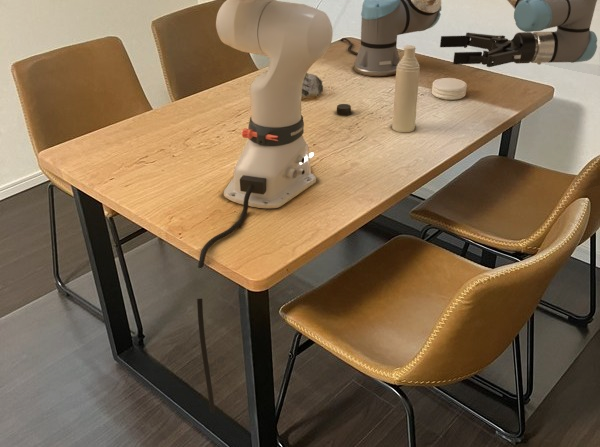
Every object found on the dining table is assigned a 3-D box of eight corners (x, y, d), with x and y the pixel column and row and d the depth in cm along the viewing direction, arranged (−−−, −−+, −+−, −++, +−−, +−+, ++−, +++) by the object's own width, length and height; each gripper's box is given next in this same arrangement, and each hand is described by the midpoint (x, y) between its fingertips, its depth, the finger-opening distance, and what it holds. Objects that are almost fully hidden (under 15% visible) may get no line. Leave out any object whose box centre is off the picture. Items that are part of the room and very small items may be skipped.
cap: (334, 114, 174) (334, 107, 173) (340, 109, 177) (340, 102, 176) (347, 116, 173) (347, 109, 172) (352, 111, 176) (353, 105, 175)
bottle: (396, 122, 169) (402, 42, 157) (417, 125, 167) (424, 45, 155) (389, 130, 165) (394, 48, 153) (410, 133, 162) (417, 51, 151)
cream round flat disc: (427, 89, 189) (428, 78, 188) (459, 87, 190) (460, 76, 188) (437, 101, 181) (438, 89, 179) (470, 99, 182) (471, 88, 180)
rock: (327, 94, 187) (327, 70, 183) (303, 102, 181) (302, 79, 177) (294, 83, 196) (293, 61, 192) (270, 91, 190) (268, 68, 186)
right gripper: (546, 79, 147) (458, 81, 146) (511, 47, 168) (434, 49, 167) (553, 47, 143) (462, 50, 142) (516, 19, 164) (437, 21, 163)
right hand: (447, 49), depth 155 cm, fingers open, 13 cm apart
